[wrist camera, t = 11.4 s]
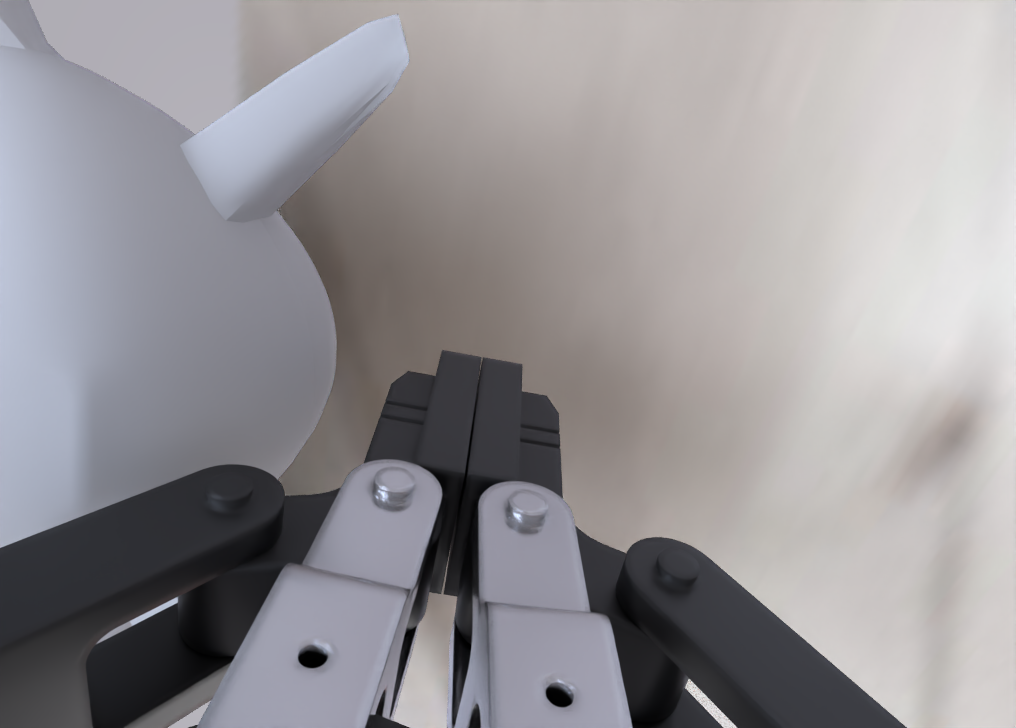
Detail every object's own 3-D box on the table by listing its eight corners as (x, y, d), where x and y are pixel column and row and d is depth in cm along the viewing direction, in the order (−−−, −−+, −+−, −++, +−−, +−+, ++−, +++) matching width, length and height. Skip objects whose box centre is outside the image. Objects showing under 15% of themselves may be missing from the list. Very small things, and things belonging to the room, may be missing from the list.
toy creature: (-211, 608, 19) (-602, -499, 7) (76, 473, 25) (109, -272, 13) (102, 1019, 16) (289, 184, 4) (349, 754, 21) (723, 89, 10)
